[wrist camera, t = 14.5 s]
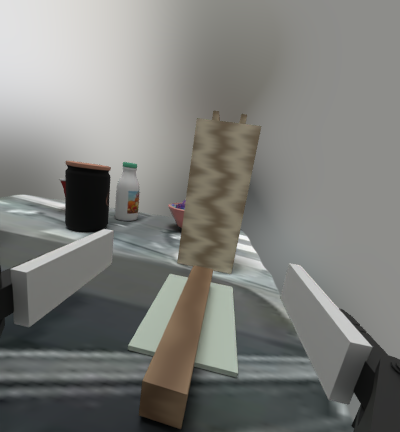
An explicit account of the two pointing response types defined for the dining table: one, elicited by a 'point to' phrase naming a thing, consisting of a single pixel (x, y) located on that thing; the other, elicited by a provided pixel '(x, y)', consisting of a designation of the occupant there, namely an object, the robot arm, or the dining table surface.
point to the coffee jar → (87, 196)
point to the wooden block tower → (217, 192)
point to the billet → (176, 354)
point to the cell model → (178, 212)
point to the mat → (210, 333)
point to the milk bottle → (127, 194)
